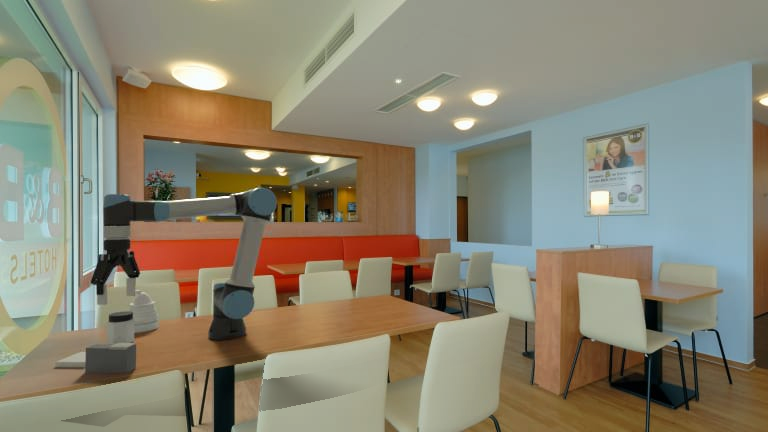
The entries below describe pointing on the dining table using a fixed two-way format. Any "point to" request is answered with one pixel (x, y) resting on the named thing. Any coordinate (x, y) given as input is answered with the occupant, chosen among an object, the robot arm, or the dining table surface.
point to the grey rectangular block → (111, 358)
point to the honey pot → (144, 313)
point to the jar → (120, 328)
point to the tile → (73, 360)
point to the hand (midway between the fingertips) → (117, 300)
